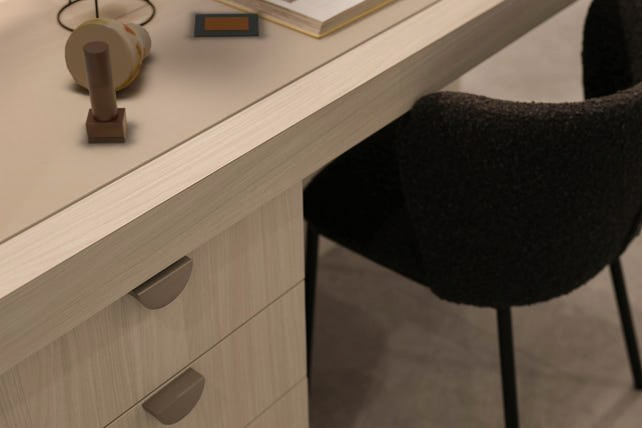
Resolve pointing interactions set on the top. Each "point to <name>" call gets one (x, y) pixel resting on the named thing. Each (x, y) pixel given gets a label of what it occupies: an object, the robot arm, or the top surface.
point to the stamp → (102, 97)
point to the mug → (124, 45)
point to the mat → (226, 25)
